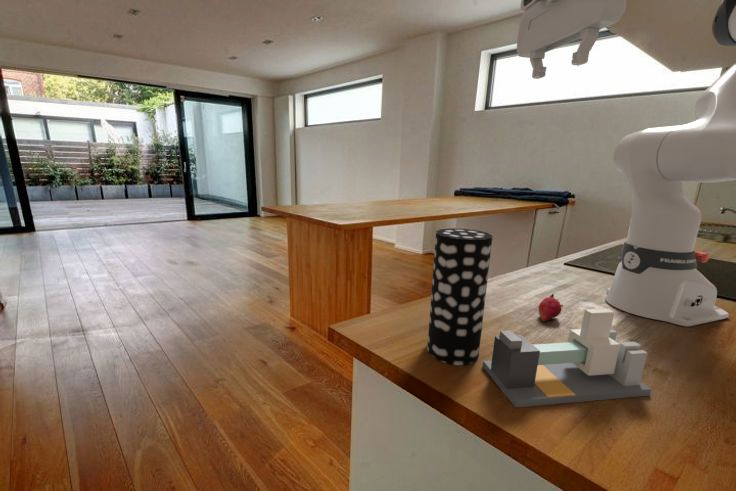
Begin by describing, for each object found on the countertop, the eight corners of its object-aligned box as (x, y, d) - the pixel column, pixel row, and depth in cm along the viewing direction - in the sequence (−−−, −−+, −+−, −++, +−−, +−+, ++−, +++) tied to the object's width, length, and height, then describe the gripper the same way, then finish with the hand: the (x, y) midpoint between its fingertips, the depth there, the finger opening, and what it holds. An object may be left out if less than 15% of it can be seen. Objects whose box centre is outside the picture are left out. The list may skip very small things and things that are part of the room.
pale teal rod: (608, 351, 51) (611, 339, 50) (620, 359, 49) (622, 346, 48) (509, 358, 48) (511, 345, 48) (517, 366, 46) (519, 353, 46)
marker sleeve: (588, 355, 52) (599, 303, 50) (613, 373, 47) (626, 317, 45) (564, 357, 51) (574, 304, 49) (588, 375, 47) (600, 318, 45)
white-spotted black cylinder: (424, 337, 60) (432, 227, 56) (471, 339, 60) (483, 229, 55) (431, 364, 52) (441, 238, 48) (485, 366, 52) (500, 240, 47)
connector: (515, 367, 50) (521, 326, 49) (534, 386, 46) (541, 342, 44) (490, 369, 50) (495, 328, 48) (506, 389, 45) (513, 344, 44)
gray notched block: (599, 356, 54) (605, 325, 52) (639, 384, 47) (648, 349, 46) (585, 357, 53) (592, 326, 52) (624, 386, 47) (632, 350, 45)
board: (597, 358, 55) (598, 352, 55) (649, 395, 46) (651, 388, 46) (482, 366, 52) (483, 360, 52) (515, 407, 43) (516, 400, 43)
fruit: (530, 319, 69) (533, 296, 68) (542, 311, 73) (546, 289, 71) (551, 327, 66) (555, 303, 65) (564, 318, 70) (568, 296, 68)
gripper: (649, -55, 47) (628, 55, 50) (543, 8, 66) (533, 85, 69) (611, -63, 45) (592, 51, 48) (515, 4, 64) (506, 82, 68)
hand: (557, 71), depth 59 cm, fingers open, 8 cm apart
